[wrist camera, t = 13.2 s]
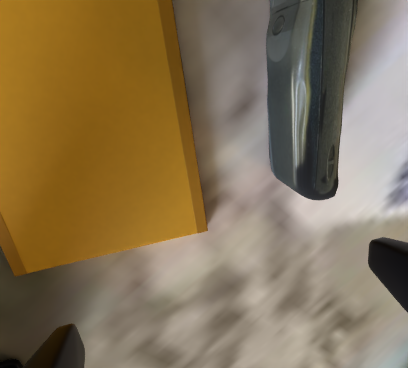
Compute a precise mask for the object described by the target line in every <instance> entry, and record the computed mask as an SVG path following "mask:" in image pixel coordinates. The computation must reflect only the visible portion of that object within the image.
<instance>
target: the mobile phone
mask: <svg viewBox="0 0 408 368" xmlns="http://www.w3.org/2000/svg"><path fill="white" fill-rule="evenodd" d="M357 1H358V0H270V21H269V26H268V31H267V38H266V51H267V71H268V98H267V106H268V121H269V156H270V162H271V169H272V172H273V174H274V175H275V177H276V178H277V179H279V180H280V181H281V182H283V183H284V184H286V185H287V186H289V187H290V188H291V189H293V190H294V191H296V192H297V193H299V194H301V195H302V196H304V197H306V198H308V199H312V200H325V199H329V198H331V197H334V196H335V194H336V191H337V188H338V159H339V145H340V135H341V126H342V110H343V93H344V82H345V75H346V71H347V67H348V60H349V54H350V47H351V41H352V36H353V32H354V29H355V23H356V14H357Z"/></svg>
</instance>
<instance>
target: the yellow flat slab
mask: <svg viewBox="0 0 408 368" xmlns="http://www.w3.org/2000/svg"><path fill="white" fill-rule="evenodd" d="M205 231H208V228H207V222H206V216H205V209H204V203H203V196H202V190H201V183H200V177H199V171H198V164H197V158H196V151H195V145H194V138H193V132H192V126H191V119H190V113H189V106H188V100H187V93H186V87H185V81H184V74H183V68H182V61H181V55H180V48H179V42H178V36H177V29H176V23H175V16H174V10H173V3H172V0H0V246H1V248H2V250H3V252H4V254H5V257H6V259H7V261H8V263H9V265H10V267H11V269H12V271H13V274H14V276H19V275H23V274H27V273H30V272H35V271H39V270H43V269H47V268H52V267H56V266H60V265H64V264H69V263H73V262H77V261H81V260H85V259H90V258H94V257H98V256H102V255H107V254H111V253H115V252H119V251H124V250H128V249H132V248H136V247H141V246H145V245H149V244H153V243H157V242H162V241H166V240H170V239H174V238H179V237H183V236H187V235H191V234H196V233H201V232H205Z"/></svg>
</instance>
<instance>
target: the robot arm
mask: <svg viewBox="0 0 408 368" xmlns="http://www.w3.org/2000/svg"><path fill="white" fill-rule="evenodd" d="M368 264H369V267H370V269H371V270H372V271H373V273H374V274H375V275H376V276H377V277H378V279H379V280H380V281H381V282H382V283H383V284H384V286H385V287H386V288H387V289H388V290H389V292H390V293H391V294H392V295H393V296H394V298H395V299H396V300H397V301H398V302H399V303H400V305H401V306H402V307H403V308H404V309H405V310H406V311H407V312H408V243H407V242H403V241H398V240H394V239H390V238H385V237H382V238H378V239H374V240H372V241H371V242H370V244H369V255H368ZM84 362H85V349H84V345H83V342H82V340H81V337H80V335H79V332H78V330H77V327H76V326H75V324H68V325H64V326H61V327H58V328H57V329H56V330H55V331H54V332H53V333H52V334H51V335H50V336H49V338H48V339H47V340H46V341H45V342H44V343H43V345H42V346H41V347H40V348H39V349H38V350H37V351H36V353H35V354H34V355H33V356H32V357H31V358H30V360H29V361H28V362H27V363H26V364H25V365H24V366H22V364H21V362H20V361H19V360H17V359H10V360H6V361H3V362H0V368H84Z"/></svg>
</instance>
